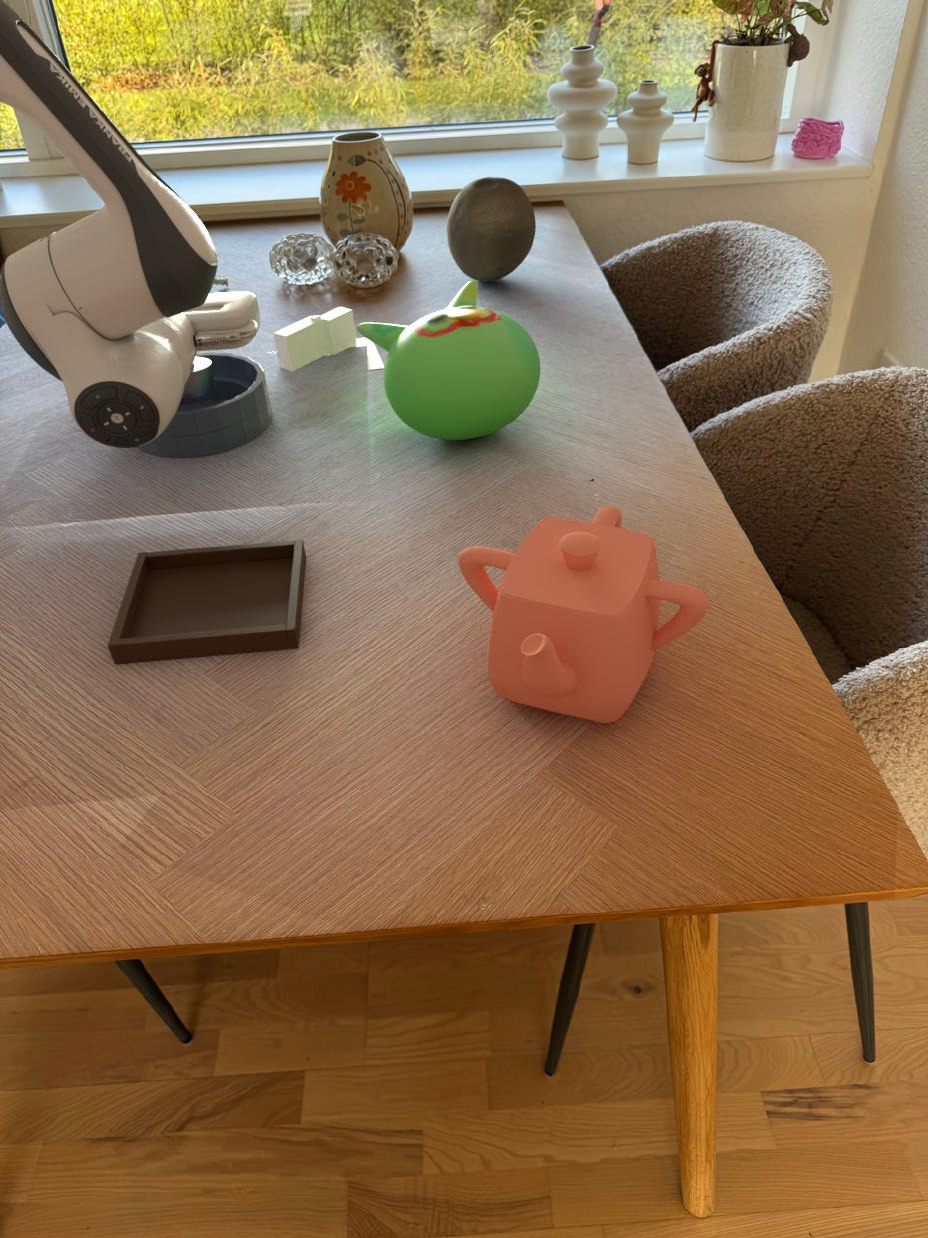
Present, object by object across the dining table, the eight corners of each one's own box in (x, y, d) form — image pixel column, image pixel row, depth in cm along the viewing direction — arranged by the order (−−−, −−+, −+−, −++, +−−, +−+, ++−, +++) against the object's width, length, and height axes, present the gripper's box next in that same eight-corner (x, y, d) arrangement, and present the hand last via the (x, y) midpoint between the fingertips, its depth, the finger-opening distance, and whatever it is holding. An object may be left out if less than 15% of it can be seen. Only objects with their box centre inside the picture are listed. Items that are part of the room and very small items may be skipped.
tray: (114, 664, 78) (107, 645, 77) (143, 570, 89) (138, 552, 87) (298, 648, 79) (295, 629, 77) (306, 557, 89) (303, 539, 88)
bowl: (119, 467, 105) (104, 419, 101) (146, 402, 118) (133, 357, 114) (266, 456, 105) (257, 407, 102) (277, 392, 118) (268, 347, 114)
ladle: (156, 400, 105) (115, 220, 94) (171, 382, 110) (133, 209, 99) (209, 398, 105) (172, 218, 94) (221, 380, 110) (188, 207, 99)
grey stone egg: (433, 290, 144) (427, 188, 135) (468, 262, 154) (465, 164, 145) (518, 300, 140) (518, 194, 130) (548, 269, 150) (550, 169, 140)
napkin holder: (273, 384, 120) (265, 341, 117) (265, 350, 129) (257, 310, 125) (385, 367, 123) (381, 325, 119) (370, 335, 131) (366, 295, 128)
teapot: (603, 596, 83) (612, 466, 74) (715, 704, 71) (739, 567, 63) (434, 655, 77) (423, 524, 69) (526, 783, 66) (526, 644, 58)
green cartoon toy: (435, 480, 100) (426, 349, 90) (360, 422, 111) (346, 301, 101) (566, 431, 107) (570, 306, 98) (484, 382, 118) (481, 265, 109)
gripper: (249, 307, 90) (261, 261, 101) (36, 320, 89) (71, 273, 100) (260, 368, 94) (270, 318, 105) (56, 382, 93) (88, 329, 104)
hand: (171, 296), depth 102 cm, fingers closed on ladle, 2 cm apart
